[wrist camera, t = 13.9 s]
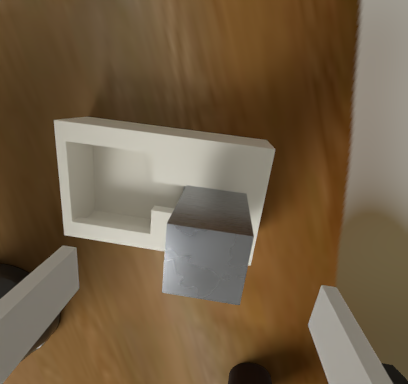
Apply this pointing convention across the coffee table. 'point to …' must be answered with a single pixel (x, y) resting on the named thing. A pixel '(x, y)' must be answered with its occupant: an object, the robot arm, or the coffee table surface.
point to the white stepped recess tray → (149, 176)
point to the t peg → (208, 245)
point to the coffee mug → (249, 374)
